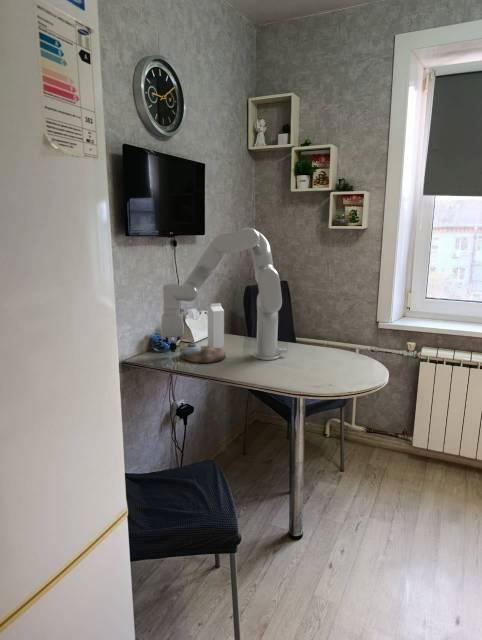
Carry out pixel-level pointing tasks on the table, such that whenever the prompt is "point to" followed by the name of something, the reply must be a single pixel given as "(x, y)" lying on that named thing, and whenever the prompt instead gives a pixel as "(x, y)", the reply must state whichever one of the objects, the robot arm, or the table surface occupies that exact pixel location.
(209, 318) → the milk
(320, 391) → the table surface
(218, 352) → the turntable
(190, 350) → the cover
